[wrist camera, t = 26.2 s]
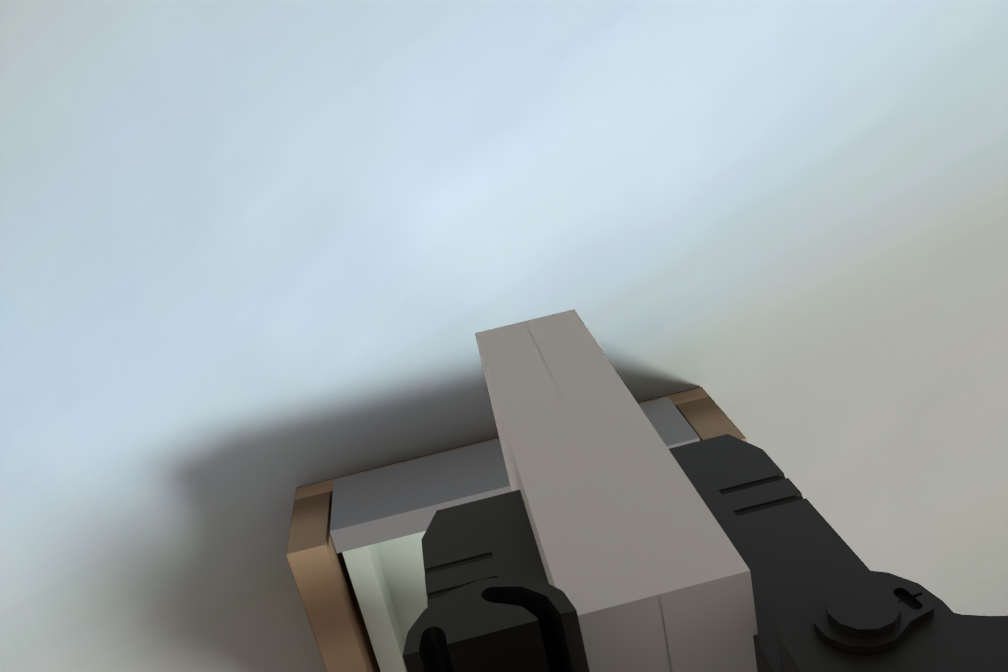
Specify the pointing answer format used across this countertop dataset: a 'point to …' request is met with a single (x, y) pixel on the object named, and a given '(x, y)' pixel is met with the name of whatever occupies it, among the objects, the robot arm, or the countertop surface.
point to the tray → (425, 524)
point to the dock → (327, 572)
